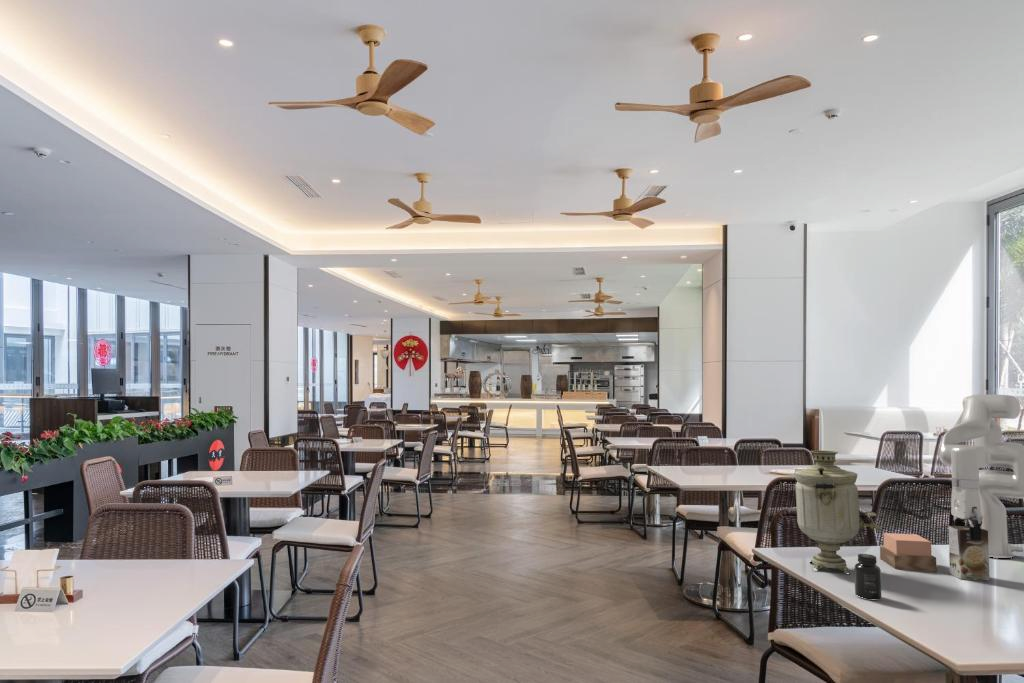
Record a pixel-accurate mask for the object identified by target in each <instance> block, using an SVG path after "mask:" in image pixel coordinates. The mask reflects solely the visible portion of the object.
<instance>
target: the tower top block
mask: <svg viewBox="0 0 1024 683" xmlns="http://www.w3.org/2000/svg"><path fill="white" fill-rule="evenodd" d="M883 546H884V547H885V548H886V549H888V550H890V551H891V552H893V553H895V554H896V555H910V556H929V557H932V556H933V554H932V541H930V540H928V539H927V538H924V537H922V536H920V535H918V534H915V533H913V534H911V533H893V532H891V533H890V532H889V533H888V532H883Z"/></svg>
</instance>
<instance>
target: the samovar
mask: <svg viewBox="0 0 1024 683" xmlns="http://www.w3.org/2000/svg"><path fill="white" fill-rule="evenodd" d="M809 453H811V454H812V455H813V461H814V462H815V464H813V465H811V466H809V467H808V468H804V469H799V470H795V471H793V476H794V478H795V480H796V481H797V482H796V483H795V500H796V501H795V502H796V516H797V517H796V521H797V525H798V528H799V529H800V531H801V532H802V533H803V534H805V535H806V536H807V537H808V538H809V539H811V540H813V541H815V542H817V549H820V552H818V553H816V555H814V556H812V559H811V560H810V561H811V562H812V563H811V564H813V565H814V567H813V568H816V569H819V570H820V569H822V568H827V569H829V568H831V569H838V570H840V571H842V572H843V573H844V574H845V573H850V571H848V570H847V567H848V566H847V561H846V560H845V559H844V558H843V557H842V556H841V555H839V554H837V551H840V550H841V544H842V543H843V544H844V543H846V542H849V541H850V540H851V541H852V539H853V538H855V537H856V536H857V535H858V533H859V532H860V530H863V529H864V527H868V528H869V529H870V530H875V529H876V530H877V531H878V532H881V531H883V528H881V526H880V525H878V524H876V523H875V522H874V520H873V517H875V516H877V514H876V513H875V512H873V511H865V512H864V515H866V516H867V517H869V522H863V519H862V518H860V507H859V506H860V504H859V503H860V502H859V488H858V487H857V485H856V482H857V479H858V474H859V473H857V472H853V471H851V470H847V469H842V468H841V467H840V466H837V465H834V463H835V462H836V455H837V454H838V453H839V451H834V450H810V451H809Z"/></svg>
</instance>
